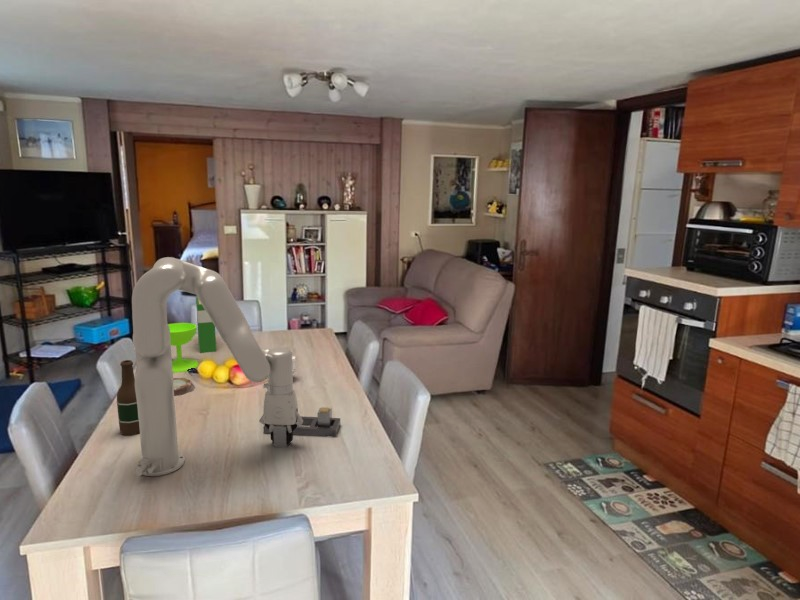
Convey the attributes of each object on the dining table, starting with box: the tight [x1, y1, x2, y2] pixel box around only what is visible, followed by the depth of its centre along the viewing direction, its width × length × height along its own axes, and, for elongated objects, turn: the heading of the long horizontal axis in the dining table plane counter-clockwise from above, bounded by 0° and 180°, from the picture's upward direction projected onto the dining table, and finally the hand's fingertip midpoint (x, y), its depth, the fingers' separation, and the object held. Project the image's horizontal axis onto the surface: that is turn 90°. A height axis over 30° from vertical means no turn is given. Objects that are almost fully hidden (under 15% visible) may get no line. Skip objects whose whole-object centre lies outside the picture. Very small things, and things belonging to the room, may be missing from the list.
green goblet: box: [167, 322, 200, 374], centre depth 231 cm, size 16×16×18 cm
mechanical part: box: [292, 355, 297, 374], centre depth 217 cm, size 11×12×12 cm
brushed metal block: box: [273, 425, 289, 448], centre depth 164 cm, size 4×4×8 cm
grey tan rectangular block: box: [317, 406, 333, 428], centre depth 174 cm, size 4×4×8 cm
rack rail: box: [263, 415, 341, 438], centre depth 175 cm, size 24×9×2 cm, turn 87°
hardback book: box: [195, 296, 217, 354], centre depth 258 cm, size 18×7×24 cm, turn 23°
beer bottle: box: [116, 359, 140, 436], centre depth 169 cm, size 8×8×24 cm
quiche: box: [173, 377, 196, 397], centre depth 207 cm, size 21×20×4 cm
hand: (281, 441), depth 165 cm, fingers closed on brushed metal block, 4 cm apart
